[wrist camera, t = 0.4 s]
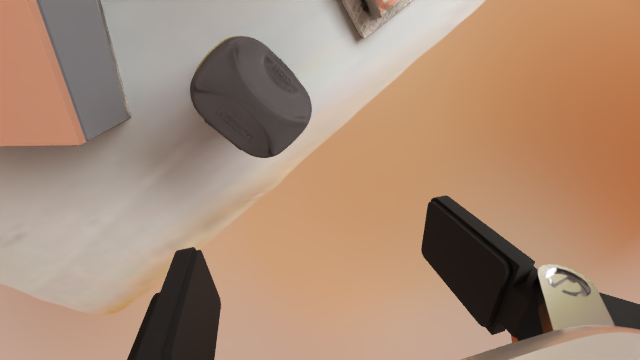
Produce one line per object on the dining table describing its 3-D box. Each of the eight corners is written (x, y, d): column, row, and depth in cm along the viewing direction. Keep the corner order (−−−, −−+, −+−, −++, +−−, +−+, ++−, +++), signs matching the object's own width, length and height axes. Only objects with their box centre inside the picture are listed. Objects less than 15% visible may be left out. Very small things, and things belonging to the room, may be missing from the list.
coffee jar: (299, 87, 37) (335, 115, 21) (261, 126, 38) (268, 182, 22) (245, 29, 32) (238, 7, 16) (205, 75, 34) (160, 98, 17)
